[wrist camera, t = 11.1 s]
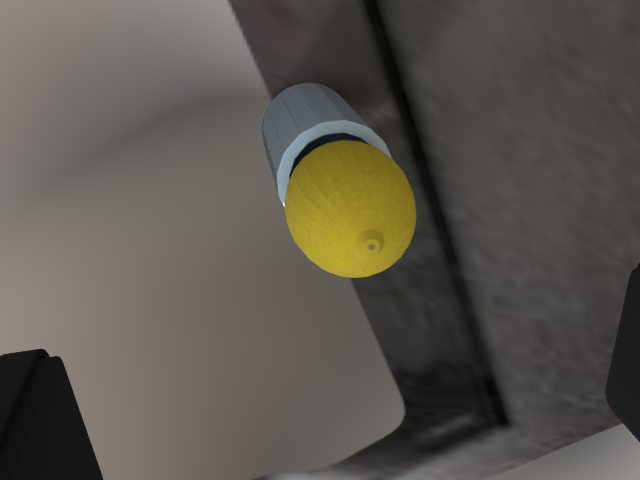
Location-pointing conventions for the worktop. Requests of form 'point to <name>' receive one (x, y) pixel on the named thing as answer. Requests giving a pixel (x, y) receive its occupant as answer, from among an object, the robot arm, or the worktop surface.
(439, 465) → the worktop surface
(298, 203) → the lemon
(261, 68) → the worktop surface
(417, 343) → the worktop surface
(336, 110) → the cup
